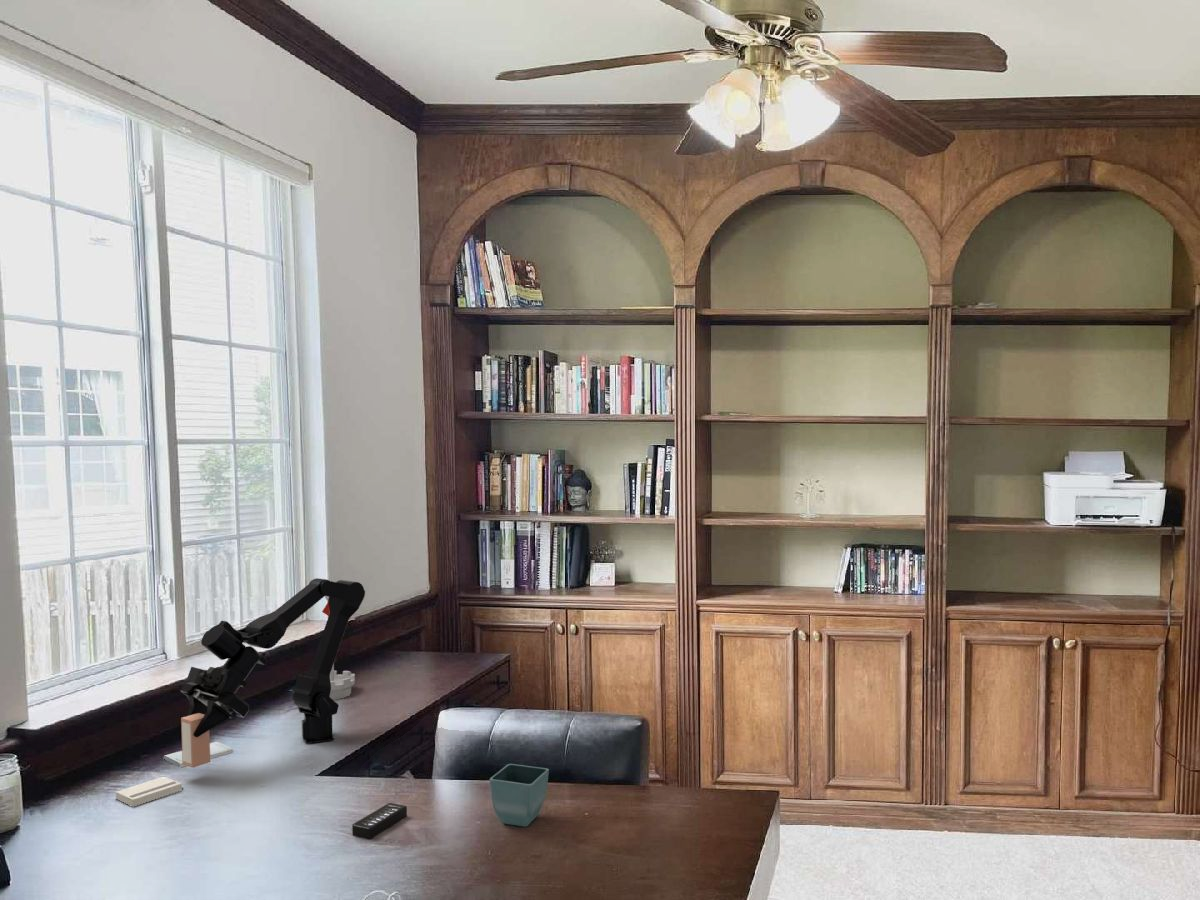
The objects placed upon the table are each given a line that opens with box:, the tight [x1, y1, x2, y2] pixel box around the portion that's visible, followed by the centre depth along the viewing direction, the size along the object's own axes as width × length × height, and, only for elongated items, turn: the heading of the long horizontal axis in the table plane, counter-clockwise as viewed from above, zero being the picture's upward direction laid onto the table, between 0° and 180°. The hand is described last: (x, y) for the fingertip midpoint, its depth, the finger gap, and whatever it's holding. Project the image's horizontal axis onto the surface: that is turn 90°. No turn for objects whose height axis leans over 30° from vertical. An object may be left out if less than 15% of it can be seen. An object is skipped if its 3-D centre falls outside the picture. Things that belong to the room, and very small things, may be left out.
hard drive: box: [163, 741, 234, 768], centre depth 205 cm, size 2×8×12 cm
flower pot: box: [489, 763, 550, 827], centre depth 168 cm, size 9×9×9 cm
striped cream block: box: [115, 776, 184, 808], centre depth 183 cm, size 11×7×2 cm, turn 144°
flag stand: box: [321, 596, 356, 701], centre depth 254 cm, size 13×13×30 cm
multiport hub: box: [351, 802, 408, 840], centre depth 167 cm, size 4×11×2 cm, turn 155°
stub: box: [180, 713, 211, 769], centre depth 191 cm, size 4×4×10 cm
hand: (189, 734), depth 190 cm, fingers closed on stub, 4 cm apart
